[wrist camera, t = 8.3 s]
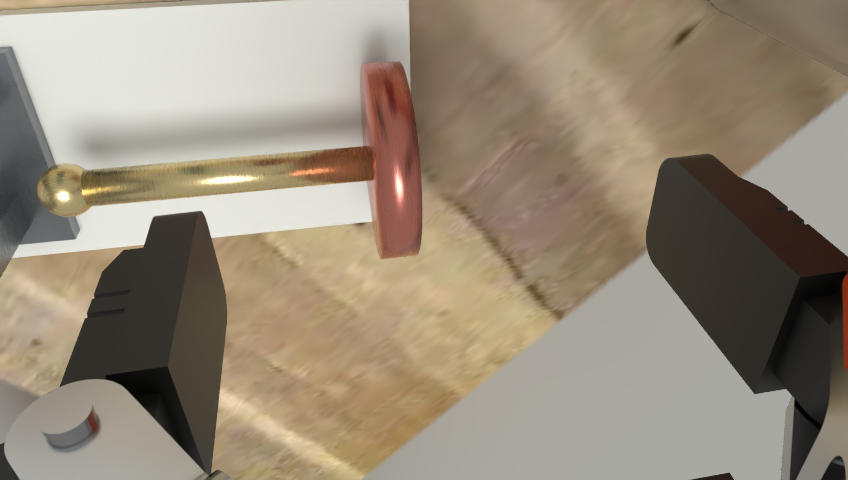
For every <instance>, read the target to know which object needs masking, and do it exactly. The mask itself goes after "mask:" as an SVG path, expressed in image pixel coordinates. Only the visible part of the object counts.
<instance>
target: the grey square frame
mask: <svg viewBox="0 0 848 480" xmlns="http://www.w3.org/2000/svg"><path fill="white" fill-rule="evenodd" d="M54 165H56V164H55V161H54V158H53V156H52V153H51V150H50V147H49V145H48V142H47V139H46V137H45V134H44V131H43V129H42V126H41V123H40V121H39V118H38V115H37V113H36V110H35V107H34V105H33V102H32V99H31V97H30V94H29V91H28V89H27V86H26V83H25V81H24V78H23V75H22V73H21V70H20V67H19V64H18V62H17V59H16V56H15V54H14V51H13V48H12V46H9V47H0V277H1V276H2V274H3V272H4V271H5V269H6V267H7V265H8V264H9V262H10V260H11V258H12V257H13V255H14V253H15V251H16V250H17V248H18V246H19V245H23V244H33V243H43V242H53V241H64V240H74V239H76V238H77V236H78V234H79V231H80V228H79V225H78V222H77V220H76V217H75V216H73V217H63V216H59V215H56V214H53V213H51V212H50V211H48V210H47V209H46V208H45V207H44V206H43V205H42V204H41V202H40V201H39V198H38V196H37V182H38V180H39V178H40V176H41V175H42V173H43V172H44V171H45V170H47V169H48V168H50V167H51V166H54Z"/></svg>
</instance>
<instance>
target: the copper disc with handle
mask: <svg viewBox="0 0 848 480" xmlns="http://www.w3.org/2000/svg"><path fill="white" fill-rule="evenodd" d="M360 99H361V119H362V134H363V146H359V147H348V148H336V149H324V150H312V151H301V152H289V153H277V154H265V155H254V156H242V157H230V158H218V159H207V160H195V161H183V162H171V163H160V164H148V165H136V166H124V167H113V168H101V169H89V170H86V169H84V168H83V167H81V166H78V165H75V164H71V163H62V164H57V165H54V166H51V167H50V168H48V169H47V170H45V171H44V172H43V173H42V175H41V176H40V178H39V180H38V182H37V196H38V198H39V201H40V202H41V204H42V205H43V206H44V207H45V208H46V209H47V210H48V211H50V212H51V213H53V214H56V215H59V216H63V217H73V216H78V215H81V214H83V213H85V212H86V211H88V210H89V209H90V208H91V207H93V206H103V205H114V204H125V203H136V202H147V201H157V200H168V199H179V198H190V197H200V196H211V195H222V194H233V193H244V192H254V191H265V190H276V189H287V188H297V187H308V186H319V185H330V184H341V183H351V182H362V181H367V186H368V194H369V202H370V209H371V216H372V223H373V229H374V235H375V240H376V245H377V249H378V253H379V256H380V258H381V259H387V258H397V257H406V256H415V255H417V254H418V253H419V250H420V245H421V236H422V186H421V170H420V158H419V148H418V138H417V130H416V123H415V116H414V109H413V104H412V98H411V93H410V88H409V84H408V80H407V76H406V73H405V70H404V67H403V65H402V63H401V62H400V61H390V62H375V63H362V65H361V72H360Z"/></svg>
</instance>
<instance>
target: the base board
mask: <svg viewBox="0 0 848 480" xmlns="http://www.w3.org/2000/svg"><path fill="white" fill-rule="evenodd" d="M9 46H12V48H13V51H14V54H15V56H16V59H17V62H18V64H19V67H20V70H21V73H22V75H23V78H24V81H25V83H26V86H27V89H28V91H29V94H30V97H31V99H32V102H33V105H34V107H35V110H36V113H37V115H38V118H39V121H40V123H41V126H42V129H43V131H44V134H45V137H46V139H47V142H48V145H49V147H50V150H51V153H52V156H53V158H54V161H55V164H56V165H57V164H62V163H71V164H75V165H78V166H81V167H83V168H84V169H86V170H89V169H101V168H113V167H124V166H136V165H148V164H160V163H171V162H183V161H195V160H207V159H218V158H230V157H242V156H254V155H265V154H277V153H289V152H301V151H312V150H324V149H336V148H348V147H359V146H363V134H362V119H361V99H360V72H361V65H362V63H375V62H390V61H400V62H401V63H402V65H403V67H404V70H405V73H406V76H407V80H408V84H409V88H410V93H411V86H410V31H409V0H190V1H170V2H151V3H131V4H112V5H93V6H73V7H54V8H34V9H15V10H0V47H9ZM194 211H202V212H203V214H204V215H205V218H206V221H207V224H208V228H209V231H210V235H211V238H214V237H223V236H233V235H243V234H253V233H263V232H273V231H282V230H292V229H302V228H312V227H322V226H332V225H341V224H351V223H361V222H371V221H372V216H371V209H370V202H369V194H368V186H367V181H362V182H351V183H341V184H330V185H319V186H308V187H297V188H287V189H276V190H265V191H254V192H244V193H233V194H222V195H211V196H200V197H190V198H179V199H168V200H157V201H147V202H136V203H125V204H114V205H103V206H93V207H91V208H90V209H89V210H88V211H86V212H85V213H83V214H81V215H78V216H75V217H76V220H77V222H78V225H79V228H80V231H79V234H78V236H77V238H76V239H74V240H64V241H53V242H43V243H33V244H23V245H19V246H18V248H17V250H16V251H15V253H14V255H13V257H12V258H17V257H27V256H36V255H46V254H56V253H66V252H76V251H86V250H95V249H105V248H115V247H125V246H135V245H144V244H145V241H146V237H147V234H148V231H149V228H150V224H151V221H152V219H153V217H154V216H159V215H168V214H176V213H185V212H194Z"/></svg>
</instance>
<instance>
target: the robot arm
mask: <svg viewBox="0 0 848 480" xmlns="http://www.w3.org/2000/svg"><path fill="white" fill-rule="evenodd" d="M709 1H710V2H711V3H712V4H713V5H714V6H715V7H716V8H717V9H719V10H720V11H722V12H724V13H726V14H728V15H730V16H732V17H734V18H736V19H738V20H740V21H742V22H744V23H746V24H747V25H749V26H751V27H753V28H755V29H757V30H759V31H760V32H762V33H764V34H766V35H768V36H770V37H772V38H774V39H776V40H778V41H780V42H782V43H784V44H786V45H788V46H790V47H791V48H793V49H795V50H797V51H799V52H801V53H803V54H805V55H807V56H809V57H811V58H813V59H815V60H817V61H819V62H821V63H823V64H825V65H827V66H829V67H831V68H833V69H835V70H836V71H838V72H840V73H842V74H844V75H846V76H848V0H709ZM646 244H647V250H648V253H649V256H650V259H651V261H652V263H653V264H654V265H655V267H656V268H657V269H658V271H659V272H660V273H661V275H662V276H663V277H664V278H665V280H666V281H667V282H668V283H669V285H670V286H671V287H672V289H673V290H674V291H675V292H676V294H677V295H678V296H679V298H680V299H681V300H682V301H683V303H684V304H685V305H686V306H687V308H688V309H689V310H690V312H691V313H692V314H693V315H694V317H695V318H696V319H697V321H698V322H699V323H700V325H701V326H702V327H703V328H704V330H705V331H706V332H707V334H708V335H709V336H710V337H711V339H712V340H713V341H714V342H715V344H716V345H717V346H718V348H719V349H720V350H721V352H722V353H723V354H724V355H725V356H726V358H727V359H728V361H729V362H730V363H731V364H732V366H733V367H734V368H735V369H736V371H737V372H738V373H739V375H740V376H741V377H742V378H743V380H744V381H745V382H746V384H747V385H748V386H749V387H750V389H751V390H752V391H753V393H754V394H758V393H764V392H770V391H776V390H781V389H787V390H788V391H789V392H790V394H791V395H792V397H791V399H790V402H789V404H788V406H787V409H786V415H785V428H784V441H783V455H782V468H781V480H848V257H847V256H846V255H845V254H844V253H842V252H841V251H840V250H839V249H838V248H836V247H835V246H834V245H833V244H832V243H830V242H829V241H828V240H827V239H826V238H824V237H823V236H822V235H821V234H819V233H818V232H817V231H816V230H815V229H814V228H812V227H811V226H810V225H808V224H807V225H805V224H804V220H803V219H801V218H800V217H799V216H798V215H797V214H795V213H794V212H793V211H792V210H791V211H788V207H787V206H786V205H785V204H783V203H782V202H781V201H780V200H779V199H777V198H776V197H775V196H774V195H773V194H771V193H770V192H769V191H768V190H766V189H763V188H761V187H759V186H757V185H755V184H753V183H751V182H749V181H746V180H744V179H742V178H740V177H738V176H737V175H735V174H734V173H733V172H732V171H731V170H730V169H728V168H727V167H726V166H725V165H724V164H723V163H721V162H720V161H719V160H718V159H717V158H715V157H714V156H713V155H710V154H701V155H692V156H684V157H675V158H668V159H666V160H665V161H664V162H663V163H662V164H661V166H660V169H659V172H658V177H657V182H656V187H655V192H654V196H653V201H652V206H651V211H650V216H649V221H648V226H647V231H646ZM94 297H95V299H92V301H91V304H90V307H89V309H88V312H87V318H85V320H84V323H83V325H82V328H81V331H80V333H79V336H78V339H77V341H76V344H75V347H74V349H73V352H72V355H71V357H70V360H69V363H68V365H67V368H66V371H65V374H64V376H63V379H62V382H61V384H60V387H59V388H56V389H54V390H52V391H50V392H48V393H46V394H45V395H43V396H42V397H40V398H38V399H37V400H35V401H34V402H33V403H32V404H30V405H29V406H28V407H27V408H26V409H25V410H24V411H23V412H22V413H21V414H20V415H19V416H18V417H17V418H16V420H15V421H14V422H13V424H12V425H11V427H10V429H9V430H8V433H7V436H6V439H5V442H4V443H2V444H0V480H232V479H231V478H230V477H229V476H228V475H227V474H225V473H224V472H222V471H219V470H216V471H215V472H213V473H212V474H211V468H212V458H213V449H214V439H215V430H216V420H217V411H218V401H219V391H220V382H221V372H222V363H223V353H224V344H225V334H226V325H227V304H226V295H225V289H224V285H223V281H222V277H221V273H220V269H219V265H218V262H217V258H216V254H215V250H214V247H213V243H212V239H211V235H210V231H209V228H208V224H207V221H206V218H205V215H204V214H203V212H202V211H194V212H185V213H176V214H168V215H159V216H154V217H153V219H152V221H151V224H150V228H149V231H148V234H147V237H146V241H145V244H144V247H143V248H138V249H130V250H123V251H122V252H121V253H120V254H119V255H118V256H117V257H116V258H115V259H114V260H113V261H112V262H111V263H110V265H109V266H108V267H107V268H106V269H105V270H104V271H103V272H102V274H101V277H100V280H99V282H98V285H97V288H96V290H95V293H94ZM692 480H734V479H733V478H732V476H731V474H730V473H725V474H720V475H714V476H709V477H703V478H698V479H692Z"/></svg>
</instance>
